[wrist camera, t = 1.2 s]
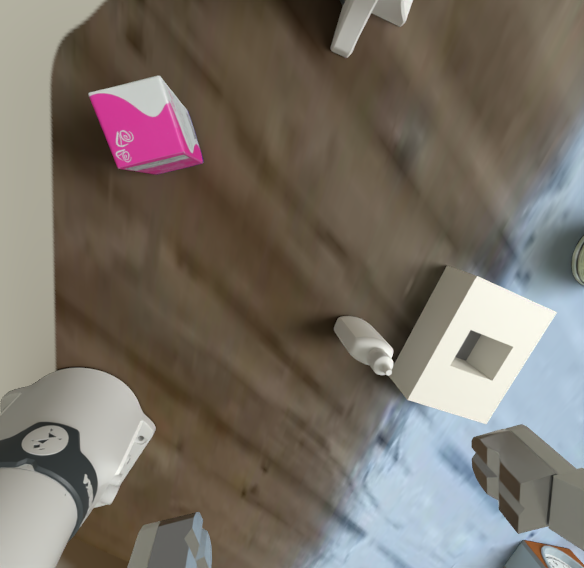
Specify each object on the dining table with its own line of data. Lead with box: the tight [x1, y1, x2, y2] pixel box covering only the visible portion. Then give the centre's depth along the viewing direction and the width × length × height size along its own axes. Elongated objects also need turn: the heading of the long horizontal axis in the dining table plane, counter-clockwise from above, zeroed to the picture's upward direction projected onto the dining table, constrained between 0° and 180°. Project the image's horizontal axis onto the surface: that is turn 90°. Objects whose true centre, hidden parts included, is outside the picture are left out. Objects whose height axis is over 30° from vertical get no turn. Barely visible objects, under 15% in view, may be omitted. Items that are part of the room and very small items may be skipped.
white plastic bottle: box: [334, 316, 393, 376], centre depth 40 cm, size 4×6×12 cm
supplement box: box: [89, 76, 203, 175], centre depth 30 cm, size 6×6×12 cm
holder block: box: [389, 266, 557, 424], centre depth 45 cm, size 18×14×6 cm
